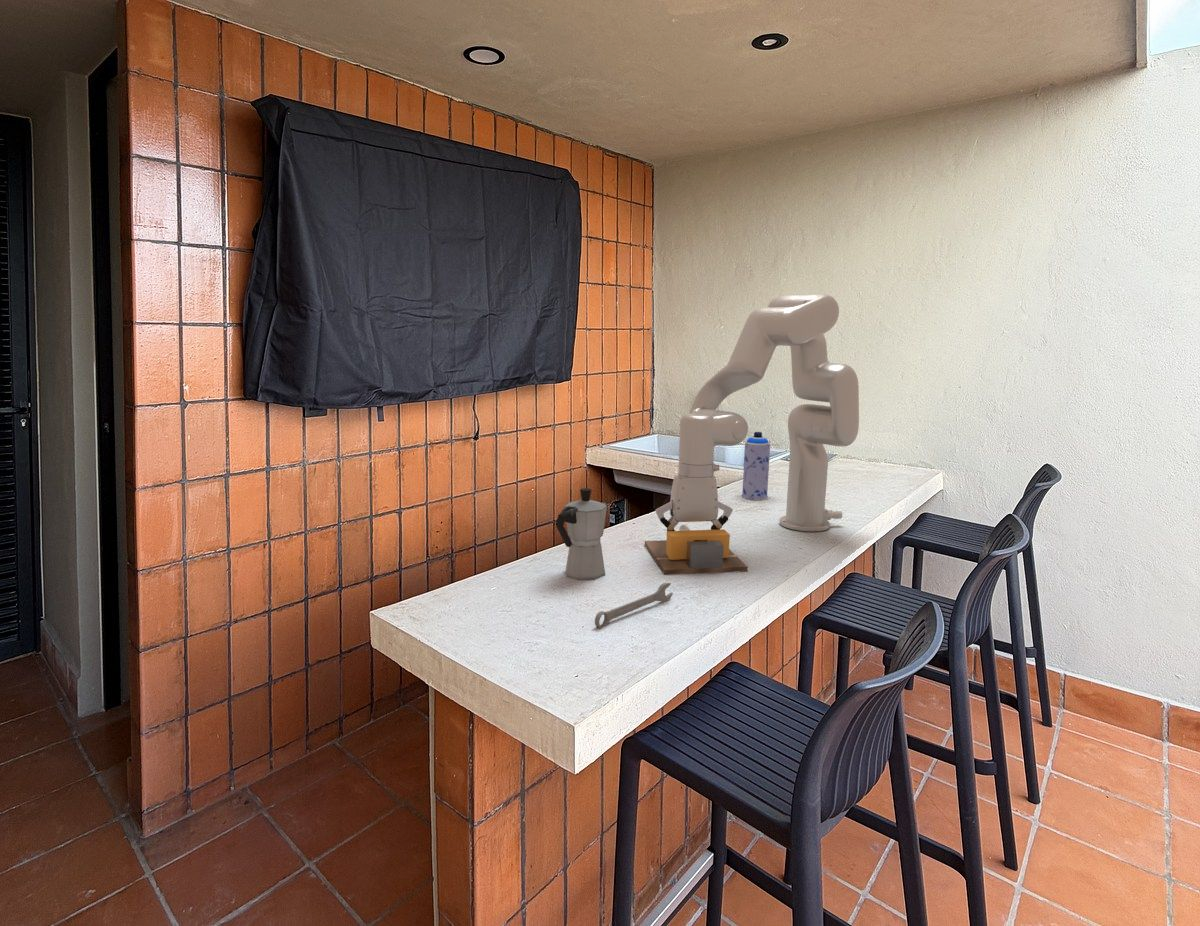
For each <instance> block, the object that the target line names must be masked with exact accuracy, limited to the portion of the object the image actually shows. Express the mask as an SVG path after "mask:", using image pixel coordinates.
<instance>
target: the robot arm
mask: <svg viewBox="0 0 1200 926" xmlns="http://www.w3.org/2000/svg"><path fill="white" fill-rule="evenodd" d="M839 307H840V306H839V304H838V302H837V300H836V298H834V297H833V296H832V295H830V294H826V293H825V294H824V293H817V294H813V293H812V294H786V295H780V296H776V297H774V298H772V300H770V301H769V303H768V306H767V307H760V308H757V309H754V310H753V311H751V313H750V314H749V315H748V317H747V318H746V321H745V322H744V325H743V327H742V330H741V331H740V332H741V333H740V334H739V338H738V340H737V341H736V344H735V346H734V348H733V351H732V354H731V355H730V358H729V361H728V362H727V364H726V365H725V366H724V367H722V368H721V369H720V370H718V371H717V372H716V373H715V374H714V375H713V376H712V377H711V378H710V379H708V381H706V382H705V383H704V385H703V386H702V387H701V388H700V389H699V391H698V392H697V393H696V396H695V398H694V401H693V403H692V404H691V407H690V410H689V413H686V414H683V415H682V416H681V417H680V423H679V442H678V443H679V445H678V446H679V447H678V448H679V450H678V470H677V471H678V474H675V475H673V480H672V485H671V493H670V501H669V502H667V503H665V504H663V505H661V506H660V507H658V508H656V509H655V513H656V516H657V518H658V520H659V521H660V523H661V524H662V525H663V526H665V528H666V532H667V531H676V530H675V528H676V527H677V525H678V524H679V523H691V522H692V523H694V522H695V523H697V522H698V523H700V522H711V523H712V525H711V526H710V530H721V529H723V526H724V525H725V524H726V523H727V522H728V521H729V518H730V516H731V515H732V513H733V508H731V506H728V505H727V504H724V503H723V502H721V501H719V493H718V486H717V485H718V484H717V478H716V476H715V475H714V474H715V472H718V471H720V465H719V464H715V462H714V457H715V446H719V447H720V446H722V447H723V446H724V447H733V446H736V445H739V444H741V443H743V441H744V440H745V439H746V437H747V435H748V433H749V426H748V425H749V424H748V422H747V421H746V419H745V418H744V416H742V415H741V414H739V413H737V412H731V411H725V410H720V409H718V408H719V406H720V405H721V404H722V402H723V401H724V400H725V399H726V398H727V397H729V396H730V395H731V394H734V393H736V392H738V391H740V390H742V389H745V388H747V387H750V386H752V385H754V384H756V383H758V382H760V381H762V379H763V378H764V376H765V374H766V371H767V369H768V367H769V364H770V362H771V360H772V357H773V354H774V353H775V350H776V348H777V347H778V346H784V347H788V346H789V348H790V356H791V360H790V361H791V379H792V380H791V381H792V390H793V393H794V395H795V396H796V397H797V398H799V399H801V400H806V401H813V402H823V403H829V404H830V405H823V404H814V403H804V404H798V405H797V406H796V407H795V406H794V408H793V409H792V410H791V411H790V412H789V414H788V418H787V430H788V431H787V432H788V437H789V439H788V440H789V464H788V465H789V466H788V478H787V479H788V480H787V493H786V494H787V495H786V507H785V508H786V509H785V515H784V516H781V517H780V518H779V524H780V526H782V527H784V528H787V529H789V530H794V531H800V532H822V531H827V530H829V528H830V527H831V524H830V521H831V519H834V520H839V519H842V518H843V512H842V511H838V510H836V511H833V510H832V509H828V508H826V495H827V494H826V493H827V483H828V482H827V480H828V469H829V458H828V453H827V451H826V448H825V446H824V445H828V446H835V447H848V446H850V445H852V444H853V443H854V442H855V441H856V439H857V436H858V434H859V428H860V427H859V426H860V399H859V398H860V396H859V395H860V389H859V388H860V386H859V378H858V375H857V373H856V371H855V369H853V367H851V365H848V364H846V363H838V362H837V363H835V362H830V361H829V360H828V349H827V340H826V337H825V335H824V334H826V333H827V332H829V331H831V330H832V329H833V327H834V326H835V325H836V324H837V321H838V320H839V316H840V308H839ZM719 509H720V510H722V511H723V513H722V514H721V515H720V516H719ZM668 511H669V515H670V518H668V519H666V517H665V513H667V512H668ZM718 516H719V517H718Z"/></svg>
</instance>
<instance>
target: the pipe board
mask: <svg viewBox="0 0 1200 926" xmlns="http://www.w3.org/2000/svg"><path fill="white" fill-rule="evenodd" d="M666 541H667V539H666V540H665V539H664V540H644V546H645V548H646V549H647V551H648V552H649V554H650V556H651V557H652V558H653V560H654V562H655V563H656V565H658V568H659V569H660V570H661V572H662V573H663V575H684V574H685V575H687V574H708V573H709V574H710V573H711V574H713V573H733V572H734V571H740V572H748V568H749V567H748V566H747V565H746V564H745V562H743V561H742V559H740V558H739V556H737V555H736V554H735V553H734V552H733V551H732V550H731V549H730V548H729V558H723V568H700V569H690V568H689V567H688V566H687V564H686V560H687V559H678V560H670V559H669V557H668V556H667V554H666Z"/></svg>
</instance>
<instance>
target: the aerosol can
mask: <svg viewBox="0 0 1200 926" xmlns="http://www.w3.org/2000/svg"><path fill="white" fill-rule="evenodd" d="M770 451H771V443H770V441H769V440H768V439H767V438H766V437H764V436H763V432H762V431H755V432H753V435H752V436H750V437H749V438H748V439H747V440H746V441H745V443H744V453H743V454H744V457H743V470H742V471H743V473H742V491H741V492H742V494H741V498H742V499H744V498H745V500H748V499H749V500H748V501H765V500H768V498H769V496H768V491H769V490H768V489H769V487H768V486H769V471H770V455H771V452H770Z"/></svg>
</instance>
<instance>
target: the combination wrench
mask: <svg viewBox="0 0 1200 926" xmlns="http://www.w3.org/2000/svg"><path fill="white" fill-rule="evenodd" d="M671 585H672V583H671V582H663V583H661V584H660V585H659V586H658V589H657V590H656V591H655V592H654V593H652V594H649V595H646V596H644V597H641V598H638V599H636V600H633V601H631V602H628V603H626V604H623V605H620V606H617V607H616V608H613V609H610V610H607V611H603V610H601V611H598V612H597V614H596V616H595V617H594V626H595V627H597V628H599V629H603V628H604V627H607V625H608V624H609V622H611V621H612V620H614V619H616V618H618V617H621V616H624V615H627V614H629V613H631V612H633V611H636V610H638V609H640V608H643V607H644V606H647V605H650V604H652V603H654V602H660V603H666V602H669V601H670V600H671V597H673V594H674V593H673V592H669V593H667V594H666V589H667V588H669V587H670V586H671ZM602 617H603V621H602V623H601V624H600V620H601V618H602Z"/></svg>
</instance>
